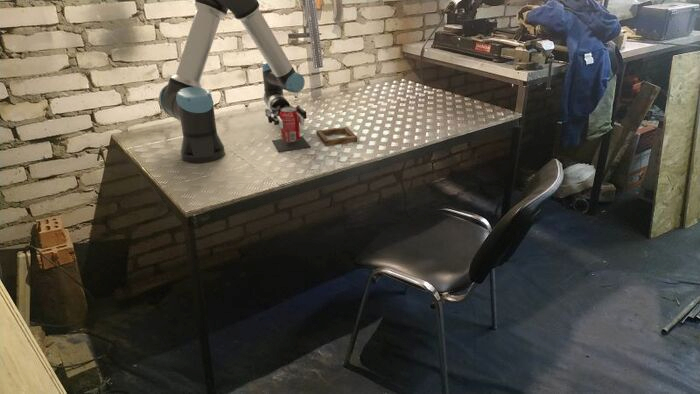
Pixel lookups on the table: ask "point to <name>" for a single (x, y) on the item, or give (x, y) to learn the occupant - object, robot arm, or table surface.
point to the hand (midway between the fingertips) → (292, 123)
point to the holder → (336, 141)
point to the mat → (290, 145)
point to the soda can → (290, 124)
